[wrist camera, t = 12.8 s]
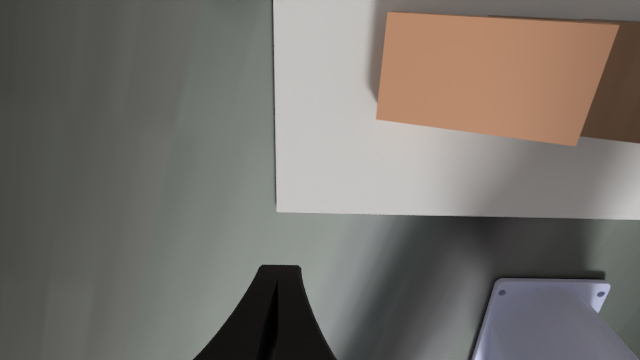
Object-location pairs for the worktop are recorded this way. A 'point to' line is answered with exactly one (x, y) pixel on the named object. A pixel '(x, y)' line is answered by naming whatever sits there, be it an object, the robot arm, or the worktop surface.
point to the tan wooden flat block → (492, 74)
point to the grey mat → (423, 127)
